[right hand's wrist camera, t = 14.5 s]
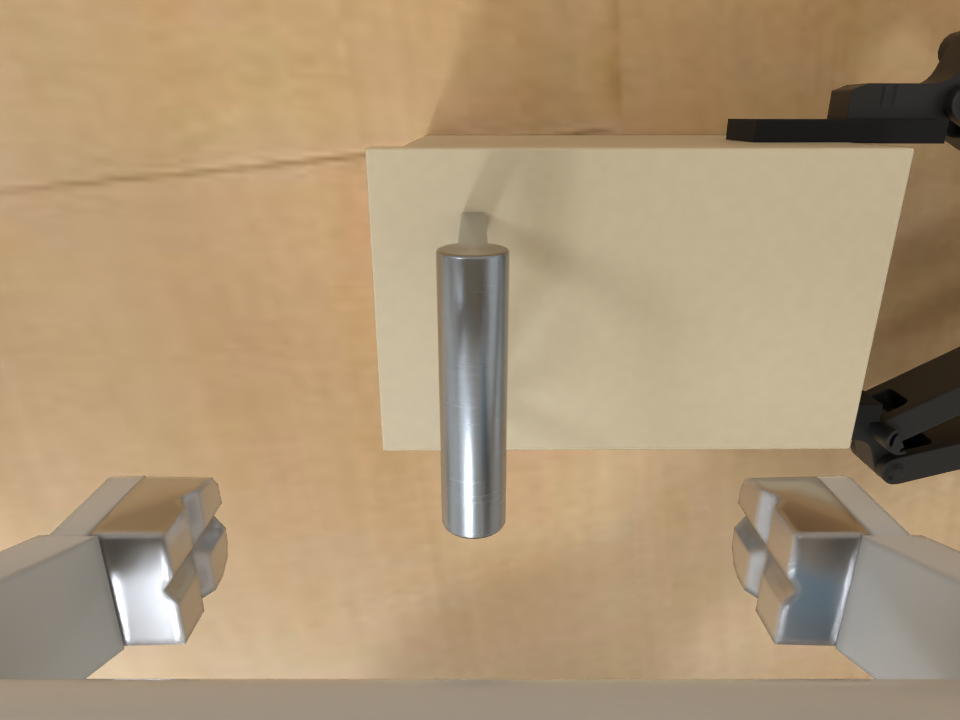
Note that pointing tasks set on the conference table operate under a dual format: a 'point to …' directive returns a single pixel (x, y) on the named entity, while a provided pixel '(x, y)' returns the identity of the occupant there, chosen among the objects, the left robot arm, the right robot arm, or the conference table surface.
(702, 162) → the lid
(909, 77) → the conference table surface
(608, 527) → the conference table surface
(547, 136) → the chest
